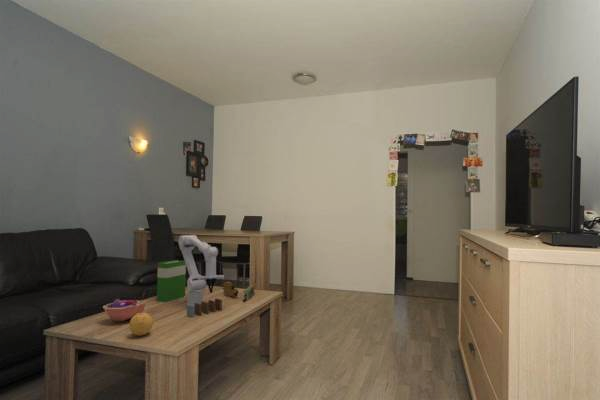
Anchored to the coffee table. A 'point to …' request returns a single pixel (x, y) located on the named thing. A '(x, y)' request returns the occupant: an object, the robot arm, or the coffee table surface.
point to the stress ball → (141, 324)
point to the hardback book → (171, 280)
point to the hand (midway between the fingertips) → (211, 292)
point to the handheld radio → (248, 292)
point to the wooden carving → (229, 289)
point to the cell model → (124, 309)
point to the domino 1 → (190, 310)
